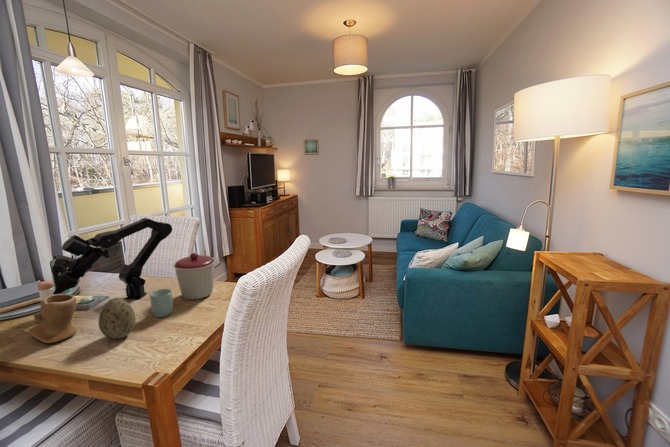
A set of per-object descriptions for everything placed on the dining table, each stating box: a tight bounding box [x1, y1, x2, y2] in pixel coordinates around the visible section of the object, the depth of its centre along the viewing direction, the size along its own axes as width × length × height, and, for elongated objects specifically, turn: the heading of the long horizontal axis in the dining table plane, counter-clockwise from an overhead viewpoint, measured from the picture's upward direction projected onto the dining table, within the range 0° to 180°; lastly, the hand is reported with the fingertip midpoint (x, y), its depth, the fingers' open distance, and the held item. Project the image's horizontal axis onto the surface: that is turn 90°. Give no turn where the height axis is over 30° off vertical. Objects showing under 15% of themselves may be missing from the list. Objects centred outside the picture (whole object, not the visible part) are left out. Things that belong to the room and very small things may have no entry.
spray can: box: [49, 254, 72, 294], centre depth 141 cm, size 6×6×20 cm
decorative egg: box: [98, 297, 137, 340], centre depth 109 cm, size 11×11×15 cm
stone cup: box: [28, 294, 77, 344], centre depth 110 cm, size 15×12×15 cm
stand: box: [33, 310, 44, 323], centre depth 124 cm, size 7×7×3 cm
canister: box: [172, 252, 216, 301], centre depth 143 cm, size 18×18×21 cm
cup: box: [149, 288, 174, 318], centre depth 126 cm, size 8×8×10 cm
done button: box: [80, 295, 93, 304], centre depth 133 cm, size 4×4×2 cm
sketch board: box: [74, 295, 110, 311], centre depth 136 cm, size 16×12×2 cm
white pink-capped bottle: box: [36, 280, 55, 302], centre depth 122 cm, size 5×5×12 cm
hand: (57, 290), depth 123 cm, fingers open, 9 cm apart
